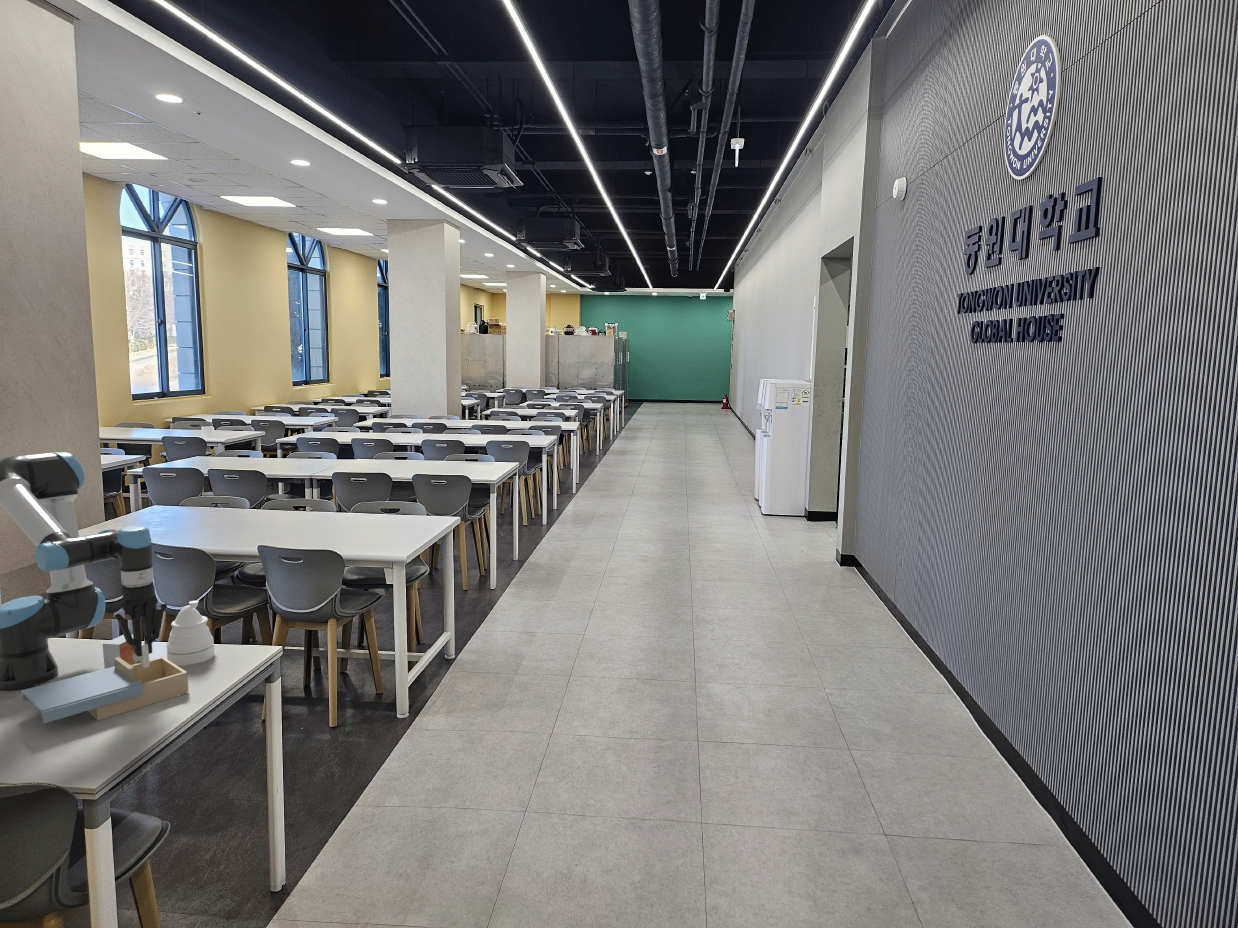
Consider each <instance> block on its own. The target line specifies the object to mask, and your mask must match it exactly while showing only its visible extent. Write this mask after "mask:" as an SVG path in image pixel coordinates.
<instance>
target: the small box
mask: <svg viewBox="0 0 1238 928" xmlns="http://www.w3.org/2000/svg"><path fill="white" fill-rule="evenodd" d="M131 635H132V638H133V634H131ZM102 654H103V665H104V666H103V667H104V669H106V668H110V667H114V666H115V665H114V658H117V657H120V658H121V659H122V660H124V661H125V662H127V663H128V664H129V665H134V664H138V663H140V656H139V657H138V656H136V654H135V645H129V644H128V643H127V642H126V640H125V637H124V635H123V634H122V635H119V636H117V637H115V638H113V639H111V640H109V641H107V642H104V643H102Z"/></svg>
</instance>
